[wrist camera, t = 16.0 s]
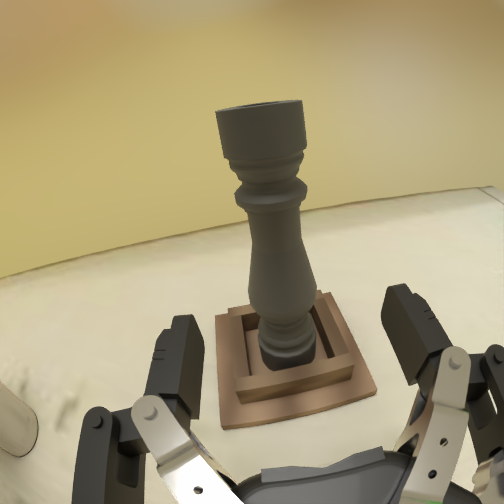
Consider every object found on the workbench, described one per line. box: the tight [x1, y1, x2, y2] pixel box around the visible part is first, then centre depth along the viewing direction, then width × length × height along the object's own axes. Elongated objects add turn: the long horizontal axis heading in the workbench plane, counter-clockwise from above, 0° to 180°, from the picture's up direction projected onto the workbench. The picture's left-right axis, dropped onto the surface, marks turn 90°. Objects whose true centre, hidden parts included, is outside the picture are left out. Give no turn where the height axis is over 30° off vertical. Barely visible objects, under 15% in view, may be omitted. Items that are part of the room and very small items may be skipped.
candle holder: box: [215, 100, 317, 371], centre depth 22 cm, size 6×6×25 cm
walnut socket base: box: [215, 290, 377, 430], centre depth 29 cm, size 16×16×4 cm
